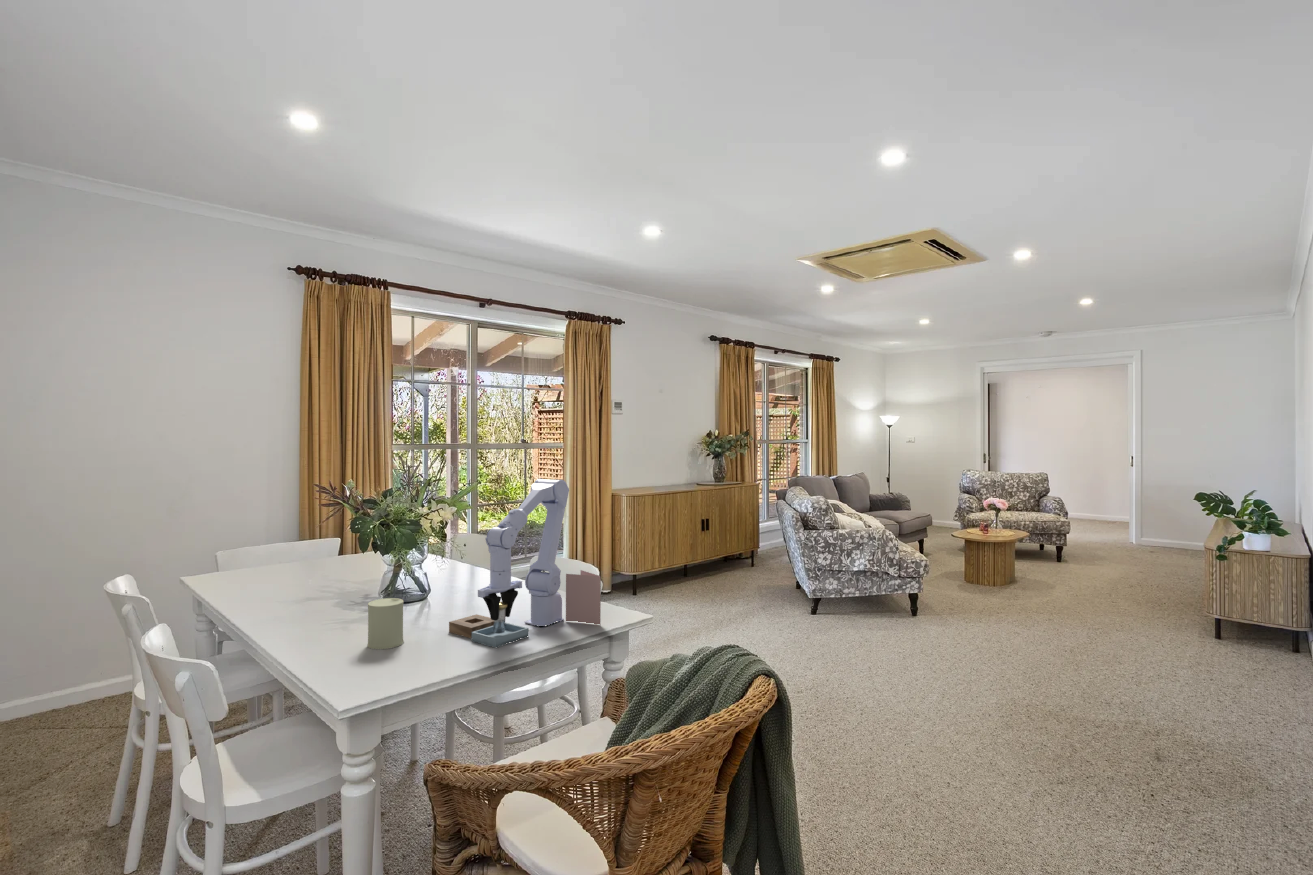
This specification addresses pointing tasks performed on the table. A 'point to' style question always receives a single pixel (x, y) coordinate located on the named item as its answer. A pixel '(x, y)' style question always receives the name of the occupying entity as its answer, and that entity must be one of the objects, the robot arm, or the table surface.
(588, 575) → the greeting card
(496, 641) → the tray
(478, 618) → the pin stand
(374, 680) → the table surface
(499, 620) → the pin
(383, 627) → the can
